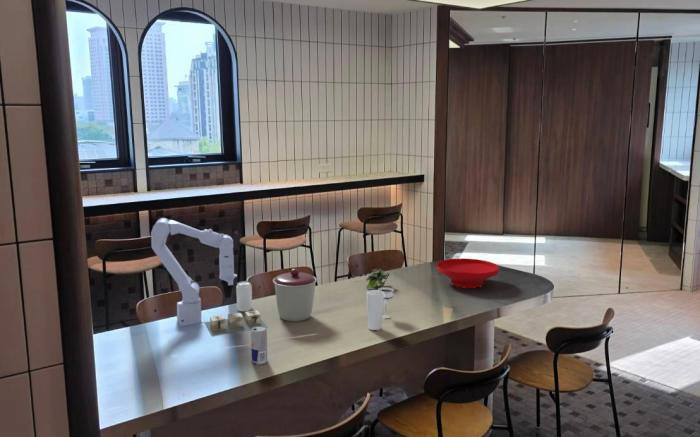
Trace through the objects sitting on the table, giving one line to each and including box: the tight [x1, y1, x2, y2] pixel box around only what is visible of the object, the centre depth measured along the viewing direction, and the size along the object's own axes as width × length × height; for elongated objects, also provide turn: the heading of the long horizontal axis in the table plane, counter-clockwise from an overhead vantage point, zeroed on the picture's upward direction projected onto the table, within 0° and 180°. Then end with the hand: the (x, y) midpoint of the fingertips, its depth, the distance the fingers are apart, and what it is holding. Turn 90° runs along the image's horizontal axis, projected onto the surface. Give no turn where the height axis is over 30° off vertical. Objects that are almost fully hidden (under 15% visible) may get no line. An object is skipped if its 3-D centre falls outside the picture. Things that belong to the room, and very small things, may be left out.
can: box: [235, 280, 253, 312], centre depth 243 cm, size 6×6×12 cm
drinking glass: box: [365, 289, 385, 331], centre depth 222 cm, size 7×7×15 cm
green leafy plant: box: [365, 268, 390, 290], centre depth 276 cm, size 11×11×12 cm
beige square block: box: [209, 314, 226, 331], centre depth 221 cm, size 5×5×4 cm
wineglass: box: [377, 286, 395, 319], centre depth 235 cm, size 7×7×12 cm
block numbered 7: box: [244, 310, 262, 326], centre depth 227 cm, size 5×5×4 cm
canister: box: [272, 268, 318, 323], centre depth 233 cm, size 18×18×21 cm
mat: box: [203, 316, 269, 337], centre depth 225 cm, size 22×16×1 cm
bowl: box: [436, 258, 500, 289], centre depth 283 cm, size 30×30×10 cm
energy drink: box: [250, 326, 268, 366], centre depth 191 cm, size 5×5×12 cm
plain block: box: [227, 312, 244, 328], centre depth 224 cm, size 5×5×4 cm
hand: (227, 297), depth 231 cm, fingers closed
